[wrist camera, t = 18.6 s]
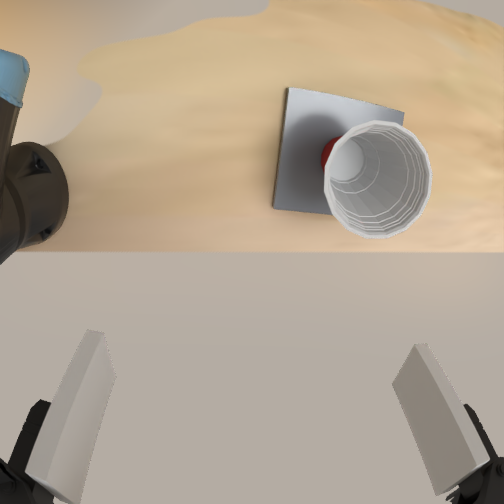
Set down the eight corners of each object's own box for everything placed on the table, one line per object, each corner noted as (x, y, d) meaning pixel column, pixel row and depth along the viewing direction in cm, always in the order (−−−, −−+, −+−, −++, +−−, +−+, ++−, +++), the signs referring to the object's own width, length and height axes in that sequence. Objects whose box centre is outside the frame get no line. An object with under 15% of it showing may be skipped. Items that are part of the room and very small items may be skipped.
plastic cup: (355, 98, 32) (405, 99, 21) (394, 172, 36) (447, 201, 25) (280, 143, 34) (300, 162, 23) (326, 215, 38) (359, 260, 28)
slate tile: (272, 206, 39) (273, 209, 38) (287, 87, 32) (289, 86, 31) (378, 217, 40) (382, 221, 39) (400, 112, 33) (404, 112, 32)
